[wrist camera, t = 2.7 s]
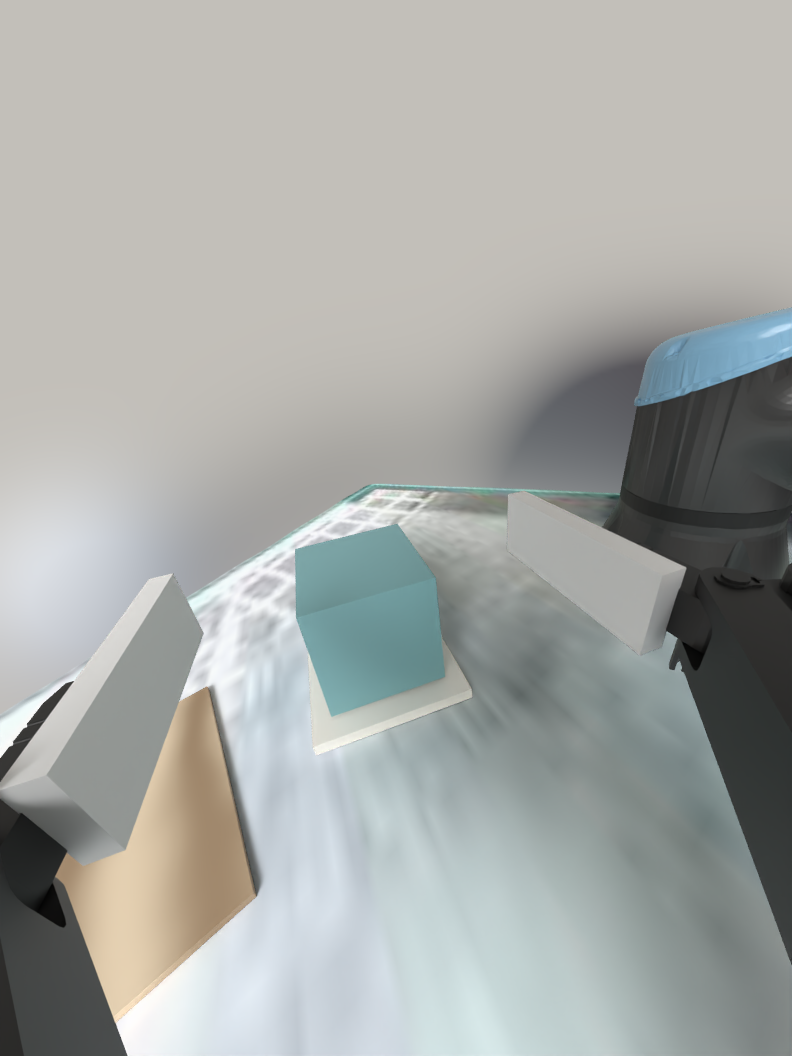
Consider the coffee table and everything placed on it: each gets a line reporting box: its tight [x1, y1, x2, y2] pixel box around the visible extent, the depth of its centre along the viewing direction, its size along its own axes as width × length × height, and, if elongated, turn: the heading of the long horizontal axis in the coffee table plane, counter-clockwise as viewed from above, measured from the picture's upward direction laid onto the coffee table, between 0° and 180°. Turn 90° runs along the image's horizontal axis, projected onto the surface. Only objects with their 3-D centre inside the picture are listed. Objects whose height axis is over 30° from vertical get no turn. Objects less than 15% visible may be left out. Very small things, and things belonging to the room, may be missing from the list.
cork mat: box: [55, 687, 256, 1023], centre depth 19 cm, size 16×16×1 cm
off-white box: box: [308, 636, 472, 756], centre depth 27 cm, size 12×12×10 cm
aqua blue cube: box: [295, 524, 445, 717], centre depth 27 cm, size 9×9×10 cm
